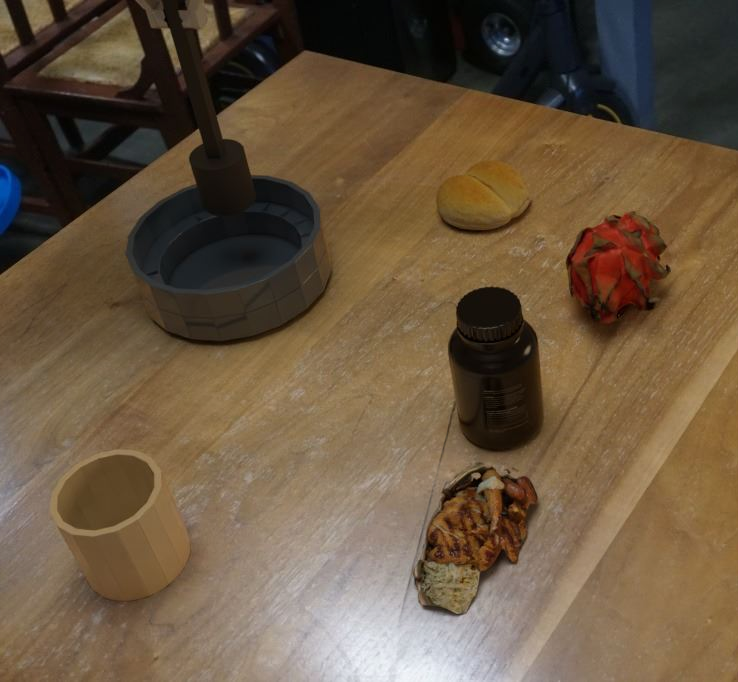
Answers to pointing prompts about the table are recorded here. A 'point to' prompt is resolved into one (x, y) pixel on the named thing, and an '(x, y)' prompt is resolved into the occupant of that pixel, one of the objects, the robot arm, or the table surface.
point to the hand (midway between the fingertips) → (180, 25)
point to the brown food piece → (471, 534)
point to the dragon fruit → (616, 266)
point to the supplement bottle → (495, 369)
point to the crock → (121, 524)
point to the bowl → (230, 261)
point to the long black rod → (210, 132)
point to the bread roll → (483, 196)
